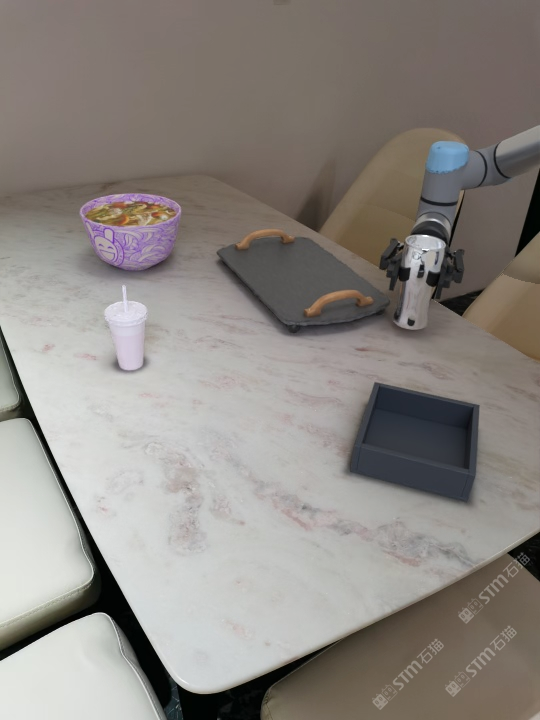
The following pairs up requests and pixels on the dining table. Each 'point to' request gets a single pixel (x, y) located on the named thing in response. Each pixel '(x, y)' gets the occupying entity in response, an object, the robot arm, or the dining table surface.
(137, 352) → the smoothie
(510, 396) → the dining table surface
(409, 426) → the slate grey square tray
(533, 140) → the robot arm
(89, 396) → the dining table surface
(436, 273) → the beer glass
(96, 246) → the bowl of food
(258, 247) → the serving tray
